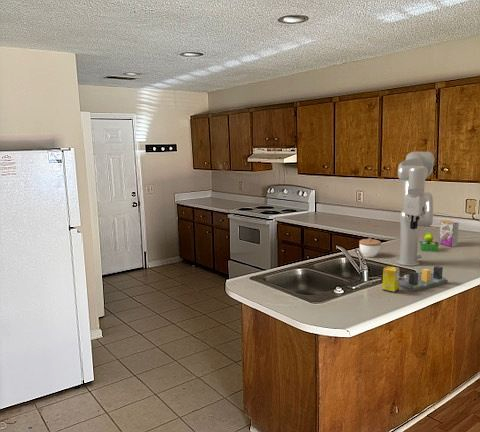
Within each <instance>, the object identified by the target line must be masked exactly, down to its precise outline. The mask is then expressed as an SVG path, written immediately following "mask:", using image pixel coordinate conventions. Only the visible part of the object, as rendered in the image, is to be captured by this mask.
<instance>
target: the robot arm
mask: <svg viewBox="0 0 480 432" xmlns="http://www.w3.org/2000/svg"><path fill="white" fill-rule="evenodd" d="M434 164H435V156H434V153H432V152H431V151H411V152H409V153H408V154H406V156H405V160H403V161H401V162H400V163H399V164H398V166H397V176H398V179H399V180H401V182H402V191H403V192H402V203H403V209H402V210H401V211H400V213H399V222H400V223H399V224H400V232H399V233H400V234H399V235H400V236H399V237H400V238H399V254H398V258H397V259H395V262H396V264H398V265H401V266H402V265H403V266H411V267H413V266H419V265H420V261H419V260H418V259H422V256H423V255H421V254H418V243H419V233H418V231H417V229H418V227H427V228H428V227H431V226H432V224H433V222H434V198H433V195H432V193H430V192H427V191H425V184H426V182H425V181H426V179H427V178H428V177H429V176H430V175H431V174H432V172H433V168H434Z"/></svg>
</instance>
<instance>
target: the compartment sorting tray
mask: <svg viewBox="0 0 480 432" xmlns="http://www.w3.org/2000/svg"><path fill="white" fill-rule="evenodd" d="M443 270H444V269H443V267H442V266H440V265H436V266H433V271H432V272H433V273H432V272H431V276H430V281H427V282H425V281H422V280H421V276H422V270H421V271H410V272H408V274H403V277H402V276H399V288H400V289H403V290H406V291H409V292H413V293H414V292H418V291H421V290H424V289H429V288H432V287H436V286H440V285H443V284H448V283H449V280H448V279H447V277H444V276H443Z"/></svg>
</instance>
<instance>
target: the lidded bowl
mask: <svg viewBox="0 0 480 432" xmlns="http://www.w3.org/2000/svg"><path fill="white" fill-rule="evenodd" d="M358 242H359V251H360V254H362V255H363V256H364V257H366V258H375V257H376V256H377V255H378V254H379V253H380V251H381V241H380V240H378V239H372V238H371V237H369V238H363V239H360V240H359V241H358Z"/></svg>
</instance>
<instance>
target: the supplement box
mask: <svg viewBox="0 0 480 432" xmlns="http://www.w3.org/2000/svg"><path fill="white" fill-rule="evenodd" d="M399 277H400V267H396V266H389V265H387V266H386V267H384V268H383V270H382V291H383V292H387V293H393V294H394V293H396V292H398V290H399V288H400V287H399Z"/></svg>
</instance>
